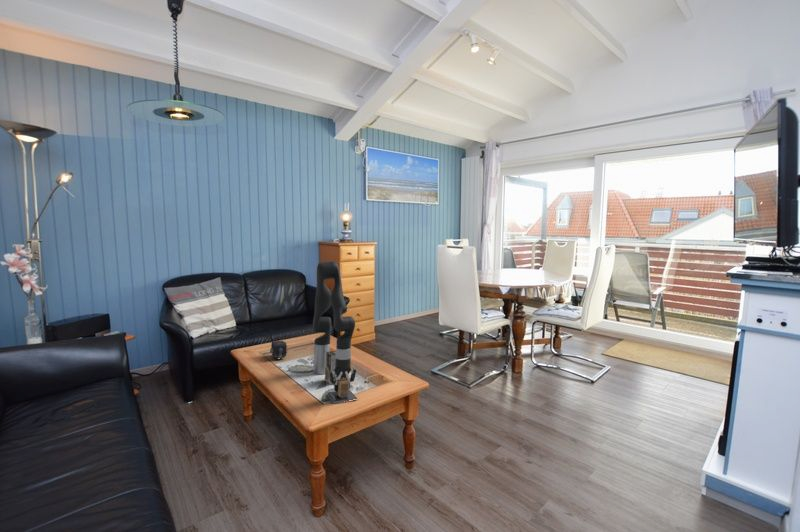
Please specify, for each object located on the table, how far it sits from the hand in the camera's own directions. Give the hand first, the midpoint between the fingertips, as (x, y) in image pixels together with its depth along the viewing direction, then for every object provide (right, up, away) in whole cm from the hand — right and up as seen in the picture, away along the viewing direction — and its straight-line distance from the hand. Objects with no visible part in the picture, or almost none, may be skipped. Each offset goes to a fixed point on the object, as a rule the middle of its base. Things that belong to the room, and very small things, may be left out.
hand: (341, 390), depth 181 cm
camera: (-53, 0, +64) cm, 83 cm away
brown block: (0, -1, 0) cm, 1 cm away
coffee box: (-9, -3, +23) cm, 24 cm away
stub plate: (0, -3, 0) cm, 3 cm away
